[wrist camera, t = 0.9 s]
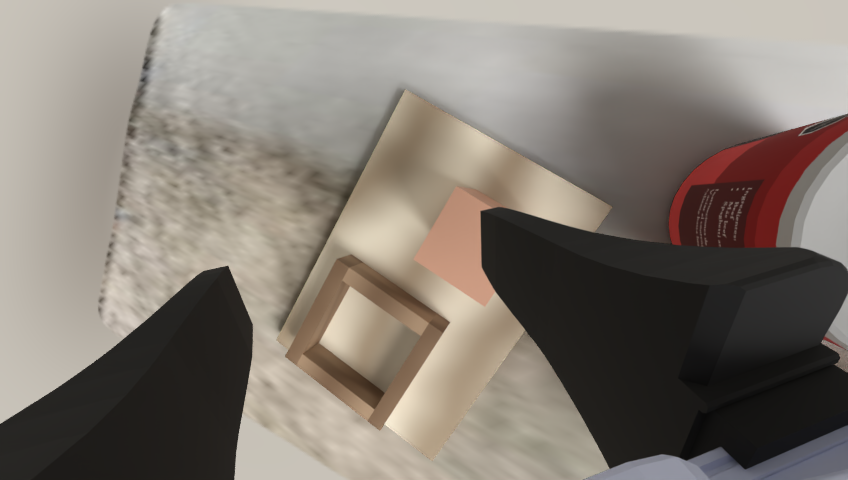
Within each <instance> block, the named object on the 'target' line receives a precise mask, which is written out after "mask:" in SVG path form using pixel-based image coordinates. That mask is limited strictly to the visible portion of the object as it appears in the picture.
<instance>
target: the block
mask: <svg viewBox="0 0 848 480" xmlns="http://www.w3.org/2000/svg"><path fill="white" fill-rule="evenodd" d="M496 207H503V208H506V207H505V206H503V205H501V204H500V203H498V202H496V201H495V200H493V199H491V198H490V197H488V196H486V195H485V194H483V193H481V192H480V191H478V190H476V189H471V188H465V187H458V186H456V187H455V189H454V191H453V193H452V194H451V196H450V198H449V199H448V201H447V203H446V205H445V206H444V208H443V210H442V211H441V213H440V215H439V216H438V218H437V220H436V222H435V223H434V225H433V227H432V228H431V230H430V232H429V233H428V235H427V237H426V239H425V240H424V242H423V244H422V245H421V247H420V249H419V251H418V252H417V254H416V256H415V257H414V259H413V260H415V261H416V262H418V263H419V264H421V265H423V266H424V267H426V268H427V269H429V270H430V271H432V272H433V273H435V274H436V275H438V276H439V277H441V278H442V279H444V280H445V281H447V282H448V283H450V284H451V285H453V286H454V287H456V288H457V289H459V290H460V291H462V292H463V293H465V294H466V295H468V296H469V297H471V298H472V299H474V300H475V301H477V302H478V303H480V304H481V305H483V306H484V307H485V306H486V305H487V303H488V302H489V300H490V299H491V297H492V296H493V294H494V293H495V290H494V289H493V287H492V285H491V283H490V282H489V280H488V278H487V276H486V275H485V273H484V271H483V269H482V264H481V216H480V211H482V210H487V209H491V208H496Z"/></svg>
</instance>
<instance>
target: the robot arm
mask: <svg viewBox="0 0 848 480" xmlns="http://www.w3.org/2000/svg"><path fill="white" fill-rule="evenodd" d="M480 216H481V264H482V269H483V271H484V273H485V275H486V276H487V278H488V280H489V282H490V283H491V285H492V287H493V289H494V290H495V292H496V293H497V295H498V296H499V297H500V299H501V300H502V301H503V302H504V304H505V305H506V306H507V308H508V309H509V310H510V311H511V313H512V314H513V315H514V316H515V318H516V319H517V320H518V321H519V323H520V324H521V325H522V326H523V328H524V329H525V330H526V332H527V333H528V334H529V335H530V337H531V338H532V339H533V340H534V342H535V343H536V344H537V346H538V347H539V348H540V350H541V351H542V352H543V354H544V355H545V357H546V358H547V360H548V361H549V363H550V365H551V366H552V368H553V369H554V371H555V373H556V374H557V376H558V377H559V379H560V381H561V382H562V384H563V385H564V387H565V389H566V391H567V392H568V394H569V396H570V397H571V399H572V401H573V402H574V404H575V406H576V408H577V409H578V411H579V413H580V414H581V416H582V418H583V420H584V422H585V423H586V425H587V427H588V429H589V431H590V432H591V434H592V436H593V438H594V440H595V442H596V443H597V445H598V447H599V449H600V451H601V452H602V454H603V456H604V458H605V460H606V462H607V464H608V466H609V468H610V469H609V470H606V471H604V472H601V473H599V474H596V475H594V476H591V477H588V478H586V479H583V480H848V373H847V372H845V371H843V370H842V369H840V368H839V367H837V366H835V365H834V364H835V363H837V362H838V361H839V359H840V356H839V354H838V353H837V352H835V351H833V350H832V349H830V348H828V347H827V346H825V345H823V344H821V342H822V340H823V338H824V336H825V335H826V333H827V331H828V330H829V328H830V326H831V324H832V323H833V321H834V319H835V317H836V316H837V314H838V312H839V311H840V309H841V307H842V305H843V303H844V301H845V299H846V297H847V294H848V270H847V268H846V267H845V266H844V265H843V264H842V263H841V262H839V261H836V260H834V259H831V258H829V257H827V256H824V255H822V254H819V253H817V252H814V251H812V250H809V249H805V248H800V247H765V248H726V247H700V246H685V245H673V244H664V243H654V242H646V241H638V240H631V239H626V238H620V237H614V236H609V235H604V234H599V233H594V232H590V231H586V230H582V229H578V228H574V227H570V226H567V225H563V224H560V223H556V222H553V221H549V220H546V219H543V218H540V217H536V216H533V215H530V214H526V213H523V212H520V211H516V210H512V209H508V208H503V207H496V208H491V209H487V210H482V211H480ZM252 344H253V324H252V322H251V320H250V317H249V315H248V312H247V310H246V308H245V305H244V303H243V300H242V298H241V296H240V293H239V291H238V288H237V286H236V284H235V281H234V279H233V276H232V274H231V272H230V269H229V267H228V266H225V267H220V268H216V269H211V270H207V271H203V272H202V273H200V274H199V275H197V276H196V277H195V278H194V279H192V280H191V281H190V282H189V283H188V284H187V285H185V286H184V287H183V288H182V289H181V290H180V291H179V292H178V293H176V294H175V295H174V296H173V297H172V298H171V299H170V300H169V301H168V302H166V303H165V304H164V305H163V306H162V307H161V308H160V309H159V310H157V311H156V312H155V313H154V314H153V315H152V316H151V317H150V318H148V319H147V320H146V321H145V322H144V323H142V324H141V325H140V326H139V327H138V328H136V329H135V330H134V331H133V332H131V333H130V334H129V335H128V336H127V337H125V338H124V339H123V340H122V341H121V342H120V343H118V344H117V345H116V346H115V347H114V348H112V349H111V350H109V351H108V352H107V353H106V354H104V355H103V356H102V357H100V358H99V359H98V360H96V361H95V362H94V363H92V364H91V365H89V366H88V367H87V368H85V369H84V370H82V371H81V372H80V373H78V374H77V375H75V376H74V377H73V378H71V379H70V380H68V381H67V382H65V383H64V384H62V385H61V386H59V387H58V388H56V389H55V390H53V391H52V392H50V393H49V394H47V395H46V396H44V397H42V398H41V399H39V400H38V401H36V402H34V403H33V404H31V405H30V406H28V407H26V408H25V409H23V410H22V411H20V412H19V413H17V414H15V415H14V416H13V417H11V418H9V419H8V420H6V421H4V422H3V423H1V424H0V480H234V475H235V459H236V449H237V441H238V434H239V429H240V423H241V417H242V412H243V406H244V401H245V395H246V390H247V384H248V378H249V372H250V367H251V360H252Z"/></svg>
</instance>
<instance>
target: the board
mask: <svg viewBox="0 0 848 480" xmlns="http://www.w3.org/2000/svg"><path fill="white" fill-rule="evenodd" d="M456 186H458V187H465V188H471V189H476V190H478V191H480V192H481V193H483V194H485V195H486V196H488V197H490V198H491V199H493V200H495V201H496V202H498V203H500V204H501V205H503V206H505V207H506V208H508V209H512V210H516V211H520V212H523V213H526V214H530V215H533V216H536V217H540V218H543V219H546V220H549V221H553V222H556V223H560V224H563V225H567V226H570V227H574V228H578V229H582V230H586V231H590V232H594V233H595V231H596V230H597V228H598V227H599V226H600V224H601V223H602V221H603V220H604V219H605V217H606V216H607V214H608V213H609V211H610V210H611V209H612V206H610V205H609V204H607V203H605V202H603V201H602V200H600V199H598V198H596V197H594V196H593V195H591V194H589V193H587V192H586V191H584V190H582V189H580V188H579V187H577V186H575V185H573V184H572V183H570V182H568V181H566V180H564V179H563V178H561V177H559V176H557V175H556V174H554V173H552V172H550V171H549V170H547V169H545V168H543V167H542V166H540V165H538V164H536V163H534V162H533V161H531V160H529V159H527V158H526V157H524V156H522V155H520V154H519V153H517V152H515V151H513V150H511V149H510V148H508V147H506V146H504V145H503V144H501V143H499V142H497V141H496V140H494V139H492V138H490V137H489V136H487V135H485V134H483V133H481V132H480V131H478V130H476V129H474V128H473V127H471V126H469V125H467V124H466V123H464V122H462V121H460V120H459V119H457V118H455V117H453V116H451V115H450V114H448V113H446V112H444V111H443V110H441V109H439V108H437V107H436V106H434V105H432V104H430V103H429V102H427V101H425V100H423V99H421V98H420V97H418V96H416V95H414V94H413V93H411V92H409V91H407V90H406V89H405V91H404V93H403V95H402V97H401V99H400V101H399V103H398V105H397V106H396V108H395V110H394V112H393V114H392V116H391V118H390V120H389V122H388V124H387V126H386V128H385V130H384V132H383V134H382V136H381V138H380V140H379V141H378V143H377V145H376V147H375V149H374V151H373V153H372V155H371V157H370V159H369V161H368V163H367V165H366V167H365V169H364V171H363V173H362V174H361V176H360V178H359V180H358V182H357V184H356V186H355V188H354V190H353V192H352V194H351V196H350V198H349V200H348V202H347V204H346V206H345V208H344V209H343V211H342V213H341V215H340V217H339V219H338V221H337V223H336V225H335V227H334V229H333V231H332V233H331V235H330V237H329V239H328V241H327V243H326V244H325V246H324V248H323V250H322V252H321V254H320V256H319V258H318V260H317V262H316V264H315V266H314V268H313V270H312V272H311V274H310V276H309V277H308V279H307V281H306V283H305V285H304V287H303V289H302V291H301V293H300V295H299V297H298V299H297V301H296V303H295V305H294V307H293V309H292V311H291V312H290V314H289V316H288V318H287V320H286V322H285V324H284V326H283V328H282V330H281V332H280V334H279V336H278V338H277V341H278V342H279V343H281V344H282V345H283V346H284V347H286V348H287V349H288V352H287V354H286V356H285V357H286V358H288V359H289V360H290V361H291V362H293V363H294V364H295V365H297V366H298V367H299V368H300V369H302V370H303V371H304V372H306V373H307V374H308V375H309V376H311V377H312V378H313V379H314V380H316V381H317V382H318V383H320V384H321V385H322V386H323V387H325V388H326V389H327V390H329V391H330V392H331V393H332V394H334V395H335V396H336V397H337V398H339V399H340V400H341V401H343V402H344V403H345V404H346V405H348V406H349V407H350V408H352V409H353V410H354V411H355V412H357V413H358V414H359V415H360V416H362V417H363V418H364V419H366V420H367V421H368V422H369V423H371V424H372V425H373V426H375V427H376V428H377V429H378V430H381V428H382V427H383V425H384V424H385V425H386V426H388V427H389V428H390V429H391V430H393V431H394V432H395V433H397V434H398V435H399V436H400V437H402V438H403V439H404V440H406V441H407V442H408V443H409V444H411V445H412V446H413V447H415V448H416V449H417V450H418V451H420V452H421V453H422V454H424V455H425V456H426V457H427V458H429V459H430V460H431V461H433V459H434V458H435V457H436V455H437V454H438V452H439V451H440V450H441V448H442V447H443V445H444V444H445V442H446V441H447V440H448V438H449V437H450V435H451V434H452V433H453V431H454V430H455V428H456V427H457V426H458V424H459V423H460V421H461V420H462V419H463V417H464V416H465V414H466V413H467V411H468V410H469V409H470V407H471V406H472V404H473V403H474V402H475V400H476V399H477V397H478V396H479V395H480V393H481V392H482V390H483V389H484V388H485V386H486V385H487V383H488V382H489V380H490V379H491V378H492V376H493V375H494V373H495V372H496V371H497V369H498V368H499V366H500V365H501V364H502V362H503V361H504V359H505V358H506V357H507V355H508V354H509V352H510V351H511V350H512V348H513V347H514V345H515V344H516V342H517V341H518V340H519V338H520V337H521V335H522V334H523V333H524V331H525V329H524V328H523V326H522V325H521V324H520V323H519V321H518V320H517V319H516V318H515V316H514V315H513V314H512V313H511V311H510V310H509V309H508V308H507V306H506V305H505V304H504V302H503V301H502V300H501V299H500V297H499V296H498V295H497V293H496V292H495V293H494V294H493V296H492V297H491V299H490V300H489V302H488V303H487V305H486V306H485V307H484V306H483V305H481V304H480V303H478V302H477V301H475V300H474V299H472V298H471V297H469V296H468V295H466V294H465V293H463V292H462V291H460V290H459V289H457V288H456V287H454V286H453V285H451V284H450V283H448V282H447V281H445V280H444V279H442V278H441V277H439V276H438V275H436V274H435V273H433V272H432V271H430V270H429V269H427V268H426V267H424V266H423V265H421V264H419V263H418V262H416V261H415V260H413V259H414V257H415V256H416V254H417V252H418V251H419V249H420V247H421V245H422V244H423V242H424V240H425V239H426V237H427V235H428V233H429V232H430V230H431V228H432V227H433V225H434V223H435V222H436V220H437V218H438V216H439V215H440V213H441V211H442V210H443V208H444V206H445V205H446V203H447V201H448V199H449V198H450V196H451V194H452V193H453V191H454V189H455V187H456Z"/></svg>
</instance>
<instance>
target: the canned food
mask: <svg viewBox="0 0 848 480" xmlns="http://www.w3.org/2000/svg"><path fill="white" fill-rule="evenodd" d="M669 232H670V239H671V242H672V244H673V245H685V246H700V247H726V248H765V247H800V248H805V249H809V250H812V251H814V252H817V253H819V254H822V255H824V256H827V257H829V258H831V259H834V260H836V261H839V262H841V263H842V264H843V265H844V266H845V267H846V268H847V270H848V114H845V115H842V116H838V117H834V118H831V119H827V120H824V121H820V122H816V123H813V124H809V125H806V126H802V127H798V128H795V129H791V130H788V131H784V132H780V133H777V134H773V135H770V136H766V137H762V138H759V139H755V140H752V141H748V142H744V143H741V144H738V145H735V146H733V147H730V148H727V149H725V150H722V151H721V152H719V153H717V154H715V155H714V156H712V157H710V158H708V159H707V160H706V161H704V162H703V163H702V164H701V165H699V166H698V167H697V168H696V169H694V170H693V171H692V173H691V174H690V175H689V176H688V177H687V178H686V180H685V181H684V182H683V183H682V185H681V187H680V188H679V190H678V192H677V193H676V195H675V197H674V200H673V203H672V206H671V209H670V215H669ZM823 339H824V340H826V341H829V342H831V343H833V344H835V345H837V346H839V347H841V348H843V349H845V350H847V351H848V294H847V297H846V299H845V301H844V303H843V305H842V307H841V309H840V311H839V312H838V314H837V316H836V317H835V319H834V321H833V323H832V324H831V326H830V328H829V330H828V331H827V333H826V335H825V336H824V338H823Z"/></svg>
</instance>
